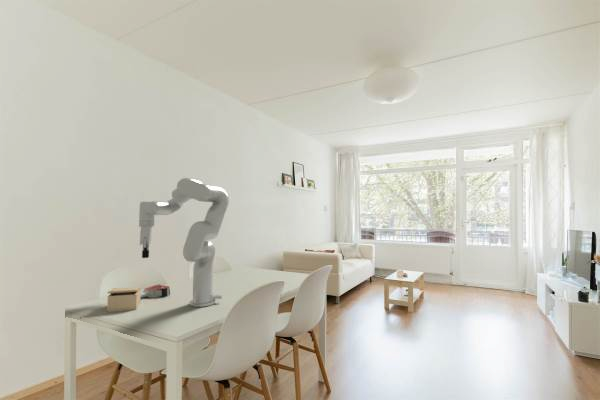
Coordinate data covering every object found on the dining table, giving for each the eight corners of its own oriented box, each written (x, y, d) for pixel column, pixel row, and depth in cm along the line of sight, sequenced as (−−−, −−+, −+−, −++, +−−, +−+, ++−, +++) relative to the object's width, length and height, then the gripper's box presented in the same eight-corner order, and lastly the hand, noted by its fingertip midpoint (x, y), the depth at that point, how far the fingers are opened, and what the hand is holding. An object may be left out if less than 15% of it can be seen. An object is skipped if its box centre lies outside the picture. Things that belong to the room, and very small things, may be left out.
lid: (140, 288, 163) (140, 286, 163) (136, 291, 151) (136, 289, 151) (113, 290, 159) (114, 288, 159) (107, 293, 147) (107, 291, 147)
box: (140, 302, 162) (140, 288, 162) (136, 309, 151) (136, 294, 151) (113, 304, 158) (113, 290, 159) (107, 311, 147) (107, 296, 147)
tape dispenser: (126, 305, 164) (168, 300, 168) (125, 295, 164) (167, 290, 168) (136, 294, 181) (173, 290, 185) (135, 285, 181) (173, 281, 185)
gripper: (140, 223, 181) (139, 256, 180) (137, 224, 167) (136, 259, 166) (155, 223, 183) (153, 255, 183) (153, 224, 169) (151, 259, 169)
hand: (145, 257), depth 174 cm, fingers closed
